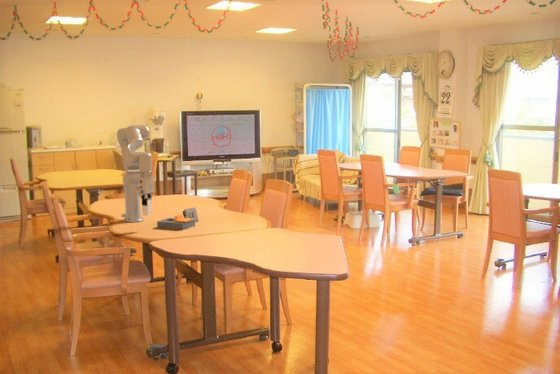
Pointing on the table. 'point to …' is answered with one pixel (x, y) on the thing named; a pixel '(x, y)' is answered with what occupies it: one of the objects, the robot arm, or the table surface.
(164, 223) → the socket housing
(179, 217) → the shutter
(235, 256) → the table surface
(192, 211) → the electrical switch
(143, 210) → the plug
